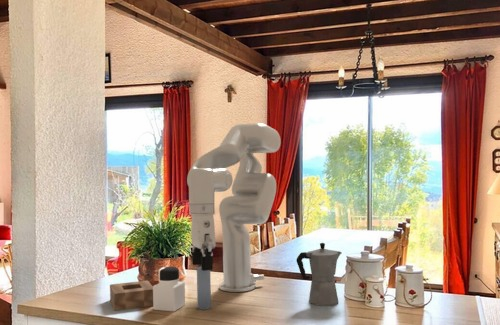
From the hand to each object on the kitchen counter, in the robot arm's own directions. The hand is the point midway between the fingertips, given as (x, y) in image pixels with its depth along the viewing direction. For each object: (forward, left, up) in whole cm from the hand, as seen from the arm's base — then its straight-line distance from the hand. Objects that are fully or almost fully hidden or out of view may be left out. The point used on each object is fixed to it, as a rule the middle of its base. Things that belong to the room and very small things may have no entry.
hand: (202, 267), depth 142 cm
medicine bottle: (+9, -6, -13) cm, 16 cm away
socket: (+18, -16, -12) cm, 27 cm away
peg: (-1, -1, -12) cm, 12 cm away
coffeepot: (-35, +9, -13) cm, 38 cm away
